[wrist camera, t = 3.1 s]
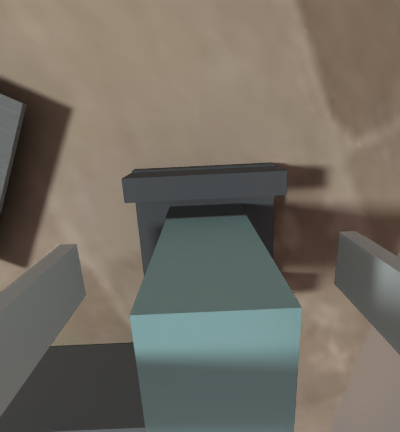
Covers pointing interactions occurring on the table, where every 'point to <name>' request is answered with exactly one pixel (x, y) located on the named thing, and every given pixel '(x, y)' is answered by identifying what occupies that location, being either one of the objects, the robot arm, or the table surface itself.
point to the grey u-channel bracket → (203, 196)
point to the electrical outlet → (8, 138)
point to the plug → (215, 328)
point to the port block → (79, 392)
